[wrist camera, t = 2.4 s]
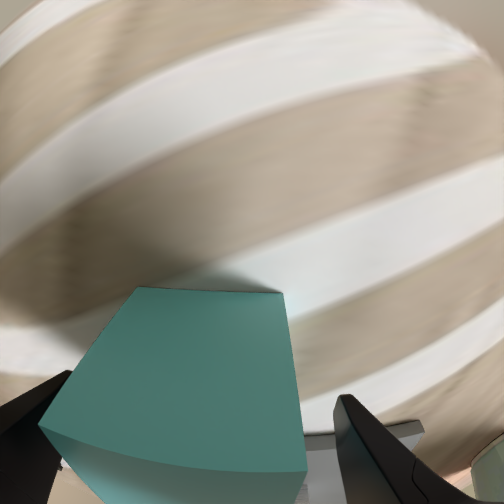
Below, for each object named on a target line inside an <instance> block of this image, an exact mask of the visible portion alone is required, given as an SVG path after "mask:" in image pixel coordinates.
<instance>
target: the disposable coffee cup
mask: <svg viewBox="0 0 504 504" xmlns="http://www.w3.org/2000/svg"><path fill="white" fill-rule="evenodd" d="M471 468H472V469H471V471H470V472H471V476H472V481H473V486H474V491H475V497H476V499H477V500H480V501H490V502H504V434H503V435H501V436H500V437H498V438H497V439H496V440H494V441H493V442H492V443H490V444H489V445H488V446H487V447H486V448H485V449H483V450H482V451H481V452H480V453H479V454H478V455H477V456H476V457H475V458H474V459H473V460H472V463H471Z"/></svg>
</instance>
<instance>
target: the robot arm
mask: <svg viewBox="0 0 504 504" xmlns="http://www.w3.org/2000/svg"><path fill="white" fill-rule="evenodd" d="M72 372H73V371H70V370H65V371H63V372H62V373H60V374H58V375H56V376H54V377H53V378H51V379H49V380H47V381H46V382H44V383H42V384H40V385H38V386H37V387H35V388H33V389H31V390H29V391H28V392H26V393H24V394H22V395H20V396H19V397H17V398H15V399H13V400H11V401H9V402H8V403H6V404H4V405H2V406H0V504H47V501H48V498H49V495H50V492H51V489H52V485H53V482H54V479H55V476H56V473H57V470H60V471H62V468H63V467H62V466H61V465H60V462H61V459H62V456H61V455H60V454H59V452H58V451H57V450H56V449H55V447H54V446H53V445H52V443H51V442H50V441H49V439H48V438H47V437H46V435H45V434H44V433H43V431H42V430H41V428H40V427H39V425H38V423H39V422H40V420H41V418H42V417H43V415H44V414H45V412H46V411H47V409H48V408H49V406H50V405H51V403H52V401H53V400H54V398H55V397H56V395H57V394H58V392H59V391H60V390H61V388H62V387H63V385H64V384H65V382H66V381H67V379H68V378H69V376H70V375H71V374H72ZM333 419H334V430H335V441H336V451H337V458H338V463H339V468H340V472H341V477H342V482H343V486H344V491H345V496H346V501H347V504H504V502H490V501H480V500H477V499H474V498H472V497H470V496H468V495H466V494H465V493H463V492H462V491H460V490H459V489H457V488H456V487H454V486H453V485H451V484H450V483H448V482H447V481H445V480H444V479H443V478H441V477H440V476H439V475H437V474H436V473H435V472H433V471H432V470H431V469H430V468H429V467H428V466H426V465H425V464H424V463H423V462H422V461H421V460H420V459H419V458H416V456H415V455H414V454H413V453H412V452H411V451H410V450H409V449H408V448H407V447H406V446H405V445H404V444H403V443H402V442H401V441H399V440H398V439H397V438H396V437H395V436H394V435H393V434H392V433H391V432H390V431H389V430H388V429H387V428H386V427H385V426H384V425H383V424H382V423H381V422H380V421H379V420H378V419H377V418H375V417H374V416H373V415H372V414H371V413H370V412H369V411H368V410H367V409H366V408H365V407H364V406H363V405H362V404H361V403H360V402H359V401H358V400H357V399H356V398H355V397H354V396H353V395H351V394H343V395H339V396H338V399H337V402H336V405H335V408H334V411H333Z"/></svg>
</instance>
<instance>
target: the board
mask: <svg viewBox="0 0 504 504" xmlns="http://www.w3.org/2000/svg"><path fill="white" fill-rule="evenodd" d="M386 428H387V429H388V430H389V431H390V432H391V433H392V434H393V435H394V436H395V437H396V438H397V439H398V440H399V441H401V442H402V443H403V444H404V445H405V446H406V447H407V448H408V449H409V450H410V451H412V450H413V448H414V447H415V446H416V444H417V443H418V442H419V440H420V439H421V437H422V436H423V434H424V433H425V431H424V428H423V426H422V424H421V422H420V420H418V421H414V422H409V423H405V424H400V425H395V426H390V427H386ZM304 441H305V449H306V457H307V466H308V472H307V475H306V477H305V480H304V482H303V484H302V485H307V486H308V495H309V504H347V501H346V496H345V491H344V486H343V482H342V477H341V472H340V468H339V463H338V458H337V451H336V441H335V434H333V435H321V436H306V437H304Z"/></svg>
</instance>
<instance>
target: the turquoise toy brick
mask: <svg viewBox="0 0 504 504" xmlns="http://www.w3.org/2000/svg"><path fill="white" fill-rule="evenodd" d="M38 425H39V427H40V428H41V430H42V431H43V433H44V434H45V435H46V437H47V438H48V439H49V441H50V442H51V443H52V445H53V446H54V447H55V449H56V450H57V451H58V452H59V454H60V455H61V456H62V457H63V459H64V460H65V461H66V462H67V463H68V465H69V466H70V467H71V468H72V469H73V470H74V472H75V473H76V474H77V475H78V476H79V477H80V478H81V479H82V480H83V482H84V483H85V484H86V485H87V486H88V487H89V488H90V489H91V490H92V491H93V492H94V493H95V494H96V495H97V496H98V497H99V498H100V499H101V500H102V501H103V502H104V503H106V504H294V502H295V500H296V498H297V496H298V493H299V491H300V489H301V487H302V484H303V482H304V480H305V477H306V475H307V472H308V466H307V457H306V449H305V441H304V433H303V426H302V418H301V411H300V403H299V396H298V389H297V382H296V375H295V368H294V361H293V354H292V348H291V341H290V334H289V328H288V321H287V315H286V309H285V302H284V296H283V293H251V292H223V291H201V290H181V289H164V288H149V287H137V288H136V289H135V290H134V292H133V293H132V294H131V295H130V297H129V298H128V299H127V300H126V302H125V303H124V304H123V305H122V307H121V308H120V309H119V310H118V312H117V313H116V314H115V315H114V317H113V318H112V319H111V321H110V322H109V323H108V325H107V326H106V327H105V328H104V330H103V331H102V332H101V334H100V335H99V336H98V338H97V339H96V340H95V342H94V343H93V344H92V346H91V347H90V349H89V350H88V351H87V353H86V354H85V355H84V357H83V358H82V360H81V361H80V362H79V364H78V365H77V367H76V368H75V369H74V371H73V372H72V374H71V375H70V376H69V378H68V379H67V381H66V382H65V384H64V385H63V387H62V388H61V390H60V391H59V392H58V394H57V395H56V397H55V398H54V400H53V401H52V403H51V405H50V406H49V408H48V409H47V411H46V412H45V414H44V415H43V417H42V418H41V420H40V422H39V423H38Z"/></svg>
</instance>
